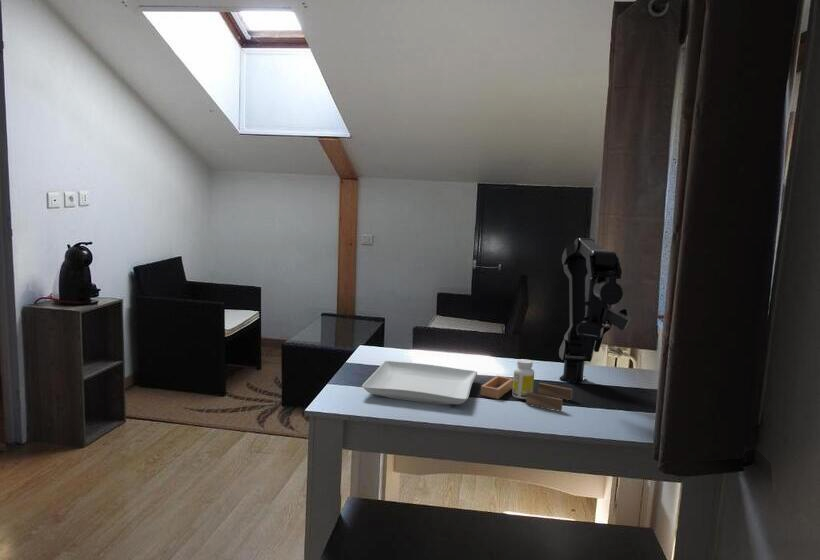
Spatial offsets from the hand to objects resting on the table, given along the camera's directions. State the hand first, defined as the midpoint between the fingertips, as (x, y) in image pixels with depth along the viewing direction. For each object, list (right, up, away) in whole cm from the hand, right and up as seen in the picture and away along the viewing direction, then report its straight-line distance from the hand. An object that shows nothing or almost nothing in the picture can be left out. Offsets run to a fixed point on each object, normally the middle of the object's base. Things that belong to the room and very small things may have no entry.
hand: (592, 355), depth 173 cm
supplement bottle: (-19, -11, 0) cm, 22 cm away
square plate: (-46, -10, +2) cm, 47 cm away
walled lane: (-12, -12, -3) cm, 18 cm away
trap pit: (-25, -10, +3) cm, 27 cm away
